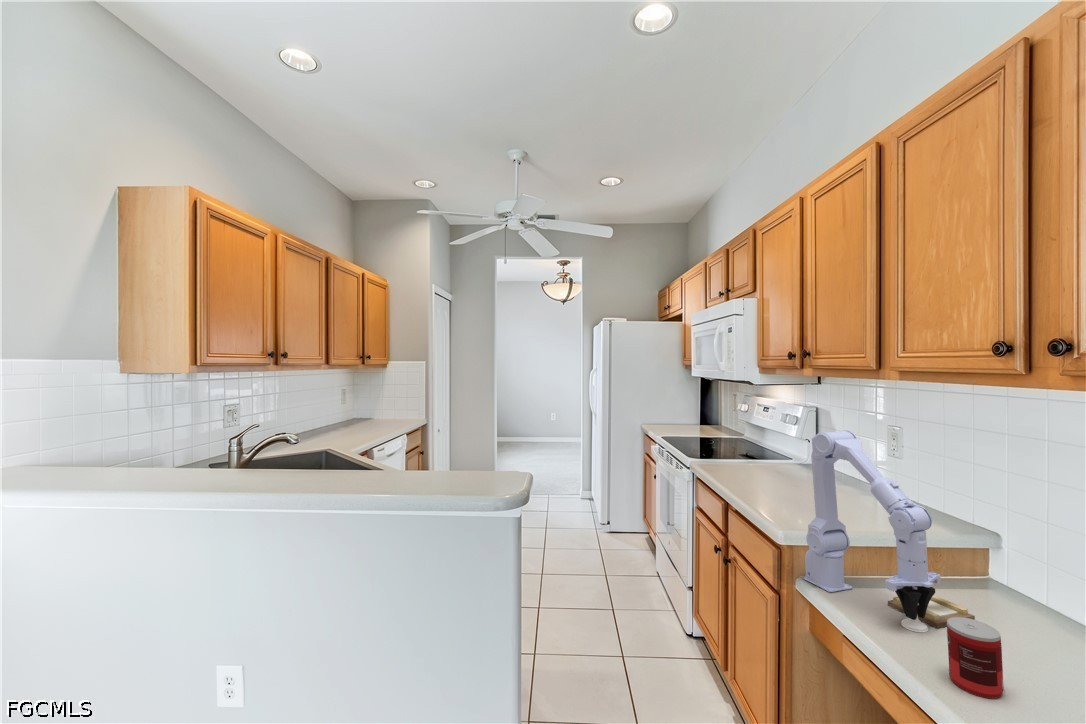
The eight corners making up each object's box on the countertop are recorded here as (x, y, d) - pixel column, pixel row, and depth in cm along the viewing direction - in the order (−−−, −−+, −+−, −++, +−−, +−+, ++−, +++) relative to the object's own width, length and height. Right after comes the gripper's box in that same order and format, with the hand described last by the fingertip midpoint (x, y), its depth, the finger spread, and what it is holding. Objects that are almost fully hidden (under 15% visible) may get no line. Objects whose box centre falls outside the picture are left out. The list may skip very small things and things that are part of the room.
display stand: (887, 605, 123) (887, 596, 123) (923, 598, 126) (922, 589, 126) (937, 628, 111) (936, 618, 111) (974, 620, 114) (974, 610, 114)
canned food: (975, 671, 95) (972, 615, 96) (1016, 698, 87) (1013, 637, 88) (938, 673, 95) (935, 617, 95) (976, 700, 87) (972, 639, 87)
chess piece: (900, 619, 116) (898, 577, 116) (925, 624, 113) (923, 582, 113) (902, 629, 111) (900, 585, 112) (929, 634, 109) (927, 590, 109)
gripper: (905, 568, 107) (908, 630, 106) (953, 560, 111) (956, 620, 110) (875, 557, 114) (878, 615, 113) (922, 550, 117) (924, 606, 117)
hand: (914, 617), depth 112 cm, fingers closed on chess piece
